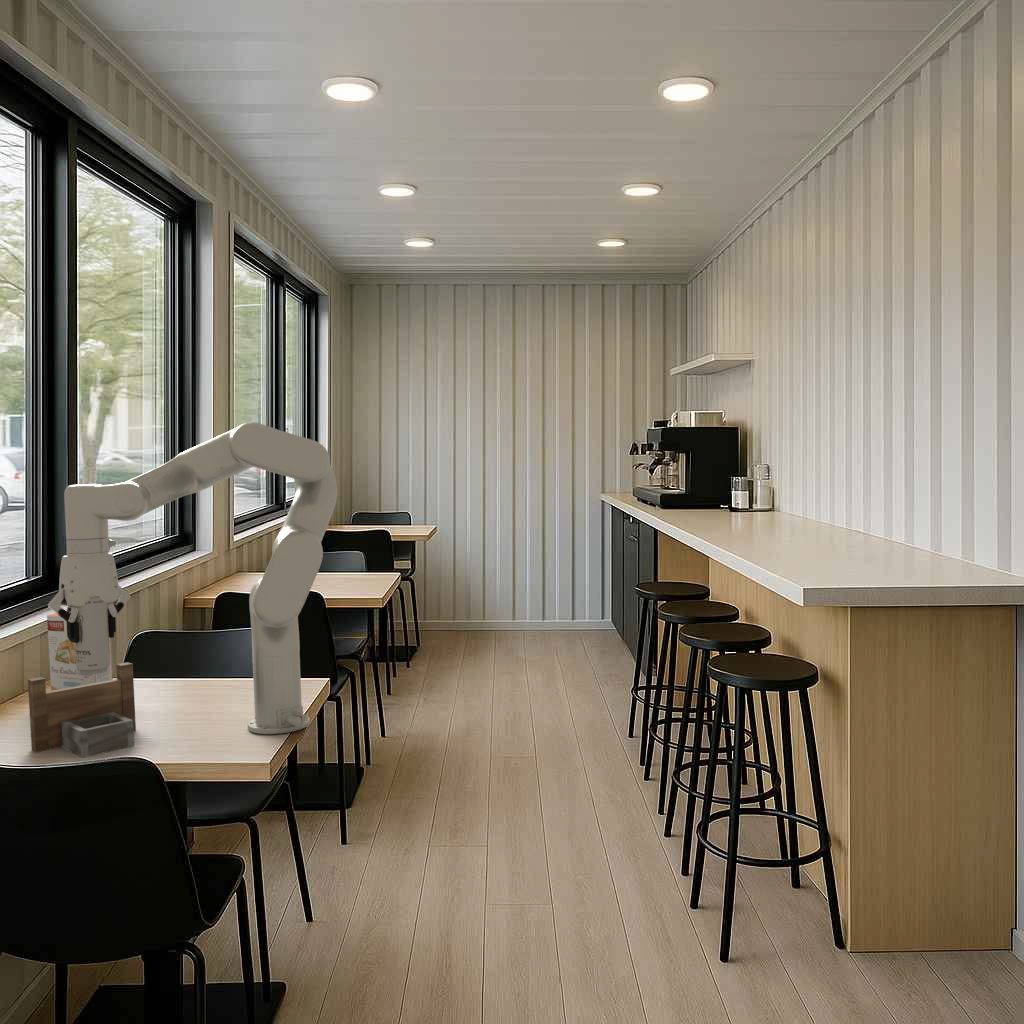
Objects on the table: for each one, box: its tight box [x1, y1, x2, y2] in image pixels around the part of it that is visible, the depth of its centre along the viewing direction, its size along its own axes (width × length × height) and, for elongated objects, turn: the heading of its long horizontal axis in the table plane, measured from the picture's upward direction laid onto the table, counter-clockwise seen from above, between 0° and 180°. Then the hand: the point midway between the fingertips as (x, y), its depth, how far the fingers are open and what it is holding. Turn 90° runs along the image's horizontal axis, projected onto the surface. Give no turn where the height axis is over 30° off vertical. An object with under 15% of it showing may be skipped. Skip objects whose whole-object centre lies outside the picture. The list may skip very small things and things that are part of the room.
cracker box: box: [46, 612, 114, 691], centre depth 224 cm, size 14×6×21 cm, turn 68°
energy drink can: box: [75, 596, 110, 674], centre depth 186 cm, size 6×6×15 cm
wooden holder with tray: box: [27, 661, 137, 758], centre depth 188 cm, size 13×20×14 cm, turn 135°
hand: (92, 638), depth 186 cm, fingers closed on energy drink can, 6 cm apart
